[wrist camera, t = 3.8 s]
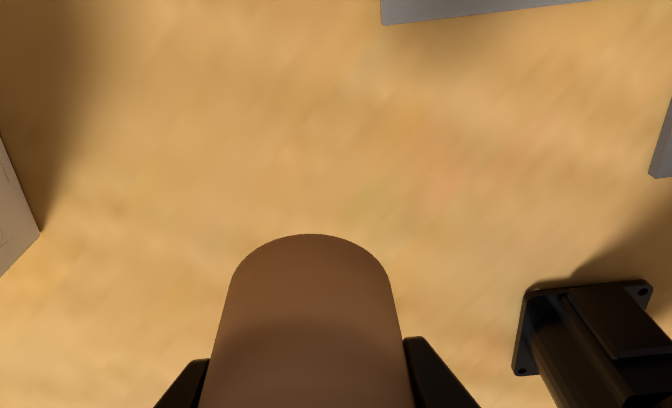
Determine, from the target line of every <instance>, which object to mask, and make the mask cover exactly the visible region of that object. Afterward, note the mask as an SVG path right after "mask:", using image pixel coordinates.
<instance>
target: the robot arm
mask: <svg viewBox="0 0 672 408" xmlns="http://www.w3.org/2000/svg"><path fill="white" fill-rule="evenodd" d="M652 292H653V287H652V286H651V285H650V284H649V283H648V282H647V281H646V280H641V279H640V280H631V281H621V282H612V283H602V284H593V285H583V286H574V287H564V288H555V289H545V290H535V291H530V292H528V293H527V294H526V295H525V296H524V297H523V301H522V307H521V313H520V318H519V324H518V330H517V336H516V341H515V347H514V353H513V359H512V364H511V368H512V370H513V372H514V374H515V375H516V376H530V375H541V377H542V379H543V381H544V383H545V385H546V387H547V389H548V390H549V392H550V394H551V396H552V398H553V400H554V402H555V404H556V406H557V408H672V340H671V339H670V337H669V336H668V335H667V334H666V333H665V332H664V331H663V330H662V329H661V328H660V327H659V325H658V324H657V323H656V322H655V321H654V320H653V319H652V318H651V317H650V316H649V314H648V313H647V312H646V311H645V310H646V307H647V305H648V302H649V300H650V297H651V295H652ZM403 345H404V350H405V354H406V359H407V363H408V368H409V372H410V377H411V381H412V386H413V390H414V395H415V399H416V404H417V408H481V407H480V406H479V405H478V403H477V402H476V401H475V400H474V398H473V397H472V396H471V395H470V393H469V392H468V391H467V390H466V389H465V387H464V386H463V385H462V384H461V382H460V381H459V380H458V379H457V377H456V376H455V375H454V374H453V373H452V371H451V370H450V369H449V368H448V366H447V365H446V364H445V363H444V361H443V360H442V359H441V358H440V357H439V355H438V354H437V353H436V352H435V350H434V349H433V348H432V347H431V345H430V344H429V343H428V342H427V340H426V339H425V338H424V337H422V336H415V337H406V338H404V340H403ZM209 362H210V359H209V358H206V359H197V360H193V361H191V362H190V363H189V364H188V365H187V366H186V367H185V369H184V370H183V371H182V372H181V374H180V375H179V376H178V377H177V379H176V380H175V381H174V382H173V384H172V385H171V386H170V387H169V389H168V390H167V391H166V392H165V394H164V395H163V396H162V397H161V398H160V400H159V401H158V402H157V403H156V405H155V406H154V407H153V408H198V404H199V401H200V397H201V393H202V389H203V385H204V381H205V378H206V374H207V370H208V366H209Z"/></svg>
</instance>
